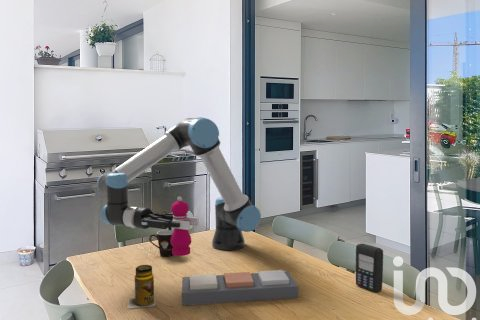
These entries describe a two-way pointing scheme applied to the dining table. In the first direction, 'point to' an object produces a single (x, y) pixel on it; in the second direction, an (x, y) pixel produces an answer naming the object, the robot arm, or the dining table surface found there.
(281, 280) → the key grey
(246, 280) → the key terracotta
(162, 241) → the coffee mug
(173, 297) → the dining table surface
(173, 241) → the pepper mill
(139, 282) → the condiment
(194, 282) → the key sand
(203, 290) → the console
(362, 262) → the card reader
